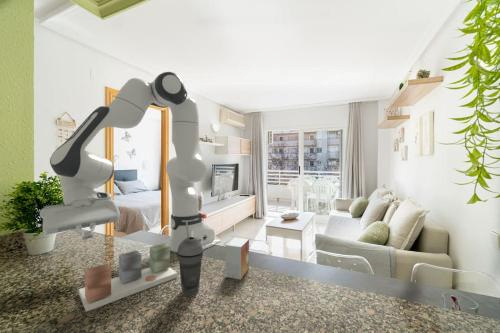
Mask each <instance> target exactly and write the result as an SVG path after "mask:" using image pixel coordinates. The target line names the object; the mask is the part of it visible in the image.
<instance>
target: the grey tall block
mask: <svg viewBox="0 0 500 333" xmlns="http://www.w3.org/2000/svg"><path fill="white" fill-rule="evenodd" d="M141 270H142V253H140V252H139V251H138V250H133V251H129V252H125V253H122V254H118V277H119V278H120V280H121V281H122V282H123V283H125V282H128V281H131V280H134V279H137V278H140V277H141Z"/></svg>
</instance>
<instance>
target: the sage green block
mask: <svg viewBox="0 0 500 333" xmlns="http://www.w3.org/2000/svg"><path fill="white" fill-rule="evenodd" d="M149 267H150V269H151V270H152V271H153V272H158V271H161V270H164V269H167V268H171V250H170V246H169V244H167V243H161V244H157V245H153V246H149Z"/></svg>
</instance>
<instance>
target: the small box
mask: <svg viewBox="0 0 500 333" xmlns="http://www.w3.org/2000/svg"><path fill="white" fill-rule="evenodd" d="M224 246H225V251H224V252H225V254H224V255H225V262H224V264H225V265H224V266H225V268H224V270H225V271H224V273H225V274H224V276H225V278H230V279H235V280H242V279H243V277H244V276H245V275H246V273H247V272H249V269H250V268H249V267H250V239H249V238H241V237H234V238H233V239H231V241H229V242H228V243H227V244H225V245H224Z"/></svg>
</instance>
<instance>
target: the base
mask: <svg viewBox="0 0 500 333" xmlns="http://www.w3.org/2000/svg"><path fill="white" fill-rule="evenodd" d="M177 278H178V272H176V270H174V269H172V267H170V268H167V269H164V270H161V271H158V272H153V271H152V270H151V269H150V266H149V267H145V268H141V277H140V278H137V279H134V280H131V281H128V282H125V283H123V282H122V281H121V280H120V278H119V276H117V277H113V278H111V295H109V296H106V297H104V298H101V299H98V300H95V301H92V302H90V303H88V301H87V299H86V296H85V286H84V287H81V288H79V289H78V295H79V298H80V300H81V303H82V304H83V307H84V311H85V312H86V313H87V312H89V311H92V310H95V309H97V308H100V307H103V306H104V305H108V304H110V303H114V302H115V301H118V300H119V301H120V299H121V300H122V299H124V298H126V297H129V296H132V295H134V294H137V293H139V292H143V291H145V290H148V289H151V288H153V287H155V286H158V285H161V284H164V283H166V282H168V281H171V280H174V279H177Z"/></svg>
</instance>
